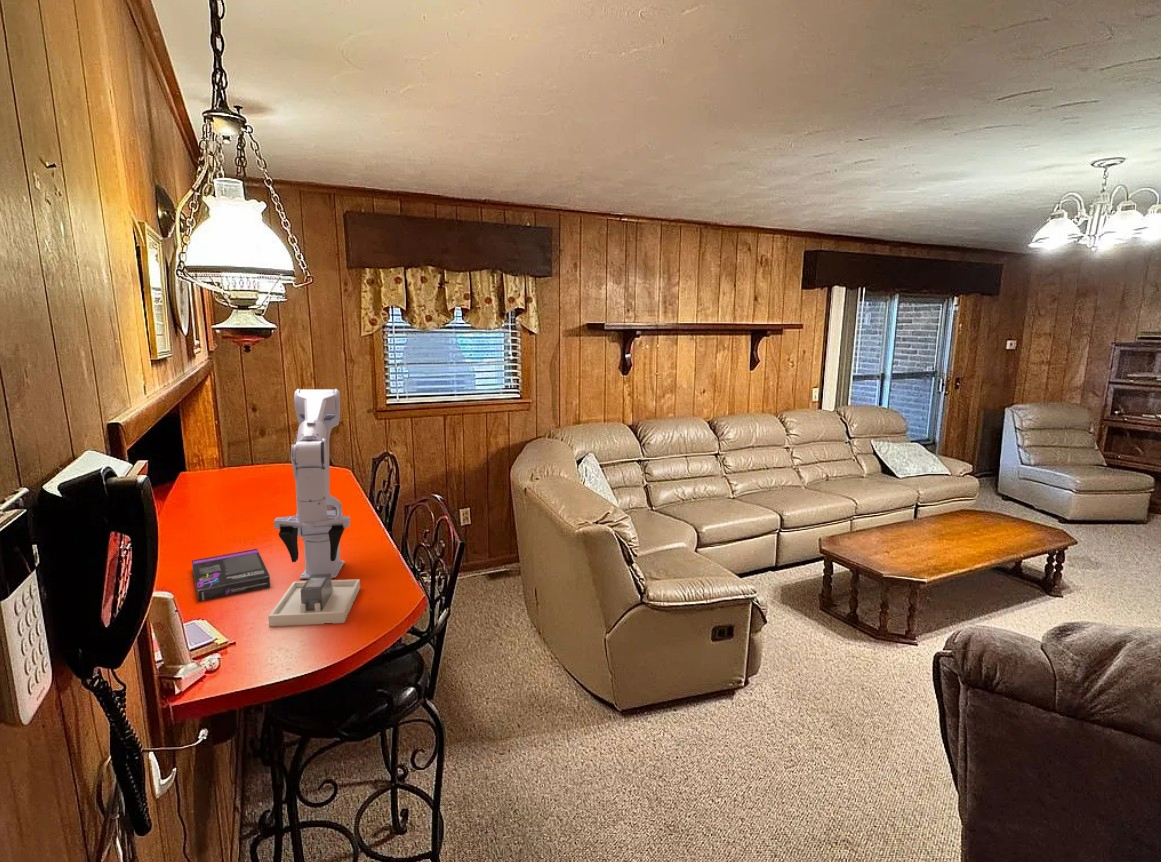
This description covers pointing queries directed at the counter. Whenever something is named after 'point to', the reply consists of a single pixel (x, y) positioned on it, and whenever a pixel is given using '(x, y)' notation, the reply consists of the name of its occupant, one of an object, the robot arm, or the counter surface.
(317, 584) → the block
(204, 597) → the box
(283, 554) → the counter surface
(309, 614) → the tray
